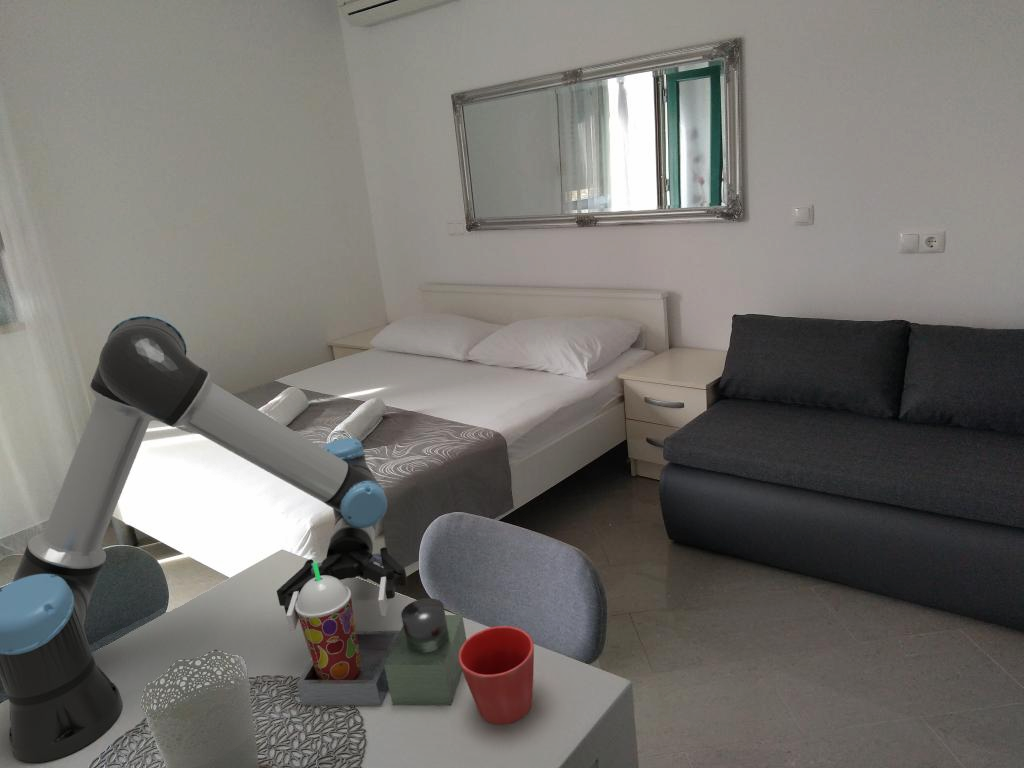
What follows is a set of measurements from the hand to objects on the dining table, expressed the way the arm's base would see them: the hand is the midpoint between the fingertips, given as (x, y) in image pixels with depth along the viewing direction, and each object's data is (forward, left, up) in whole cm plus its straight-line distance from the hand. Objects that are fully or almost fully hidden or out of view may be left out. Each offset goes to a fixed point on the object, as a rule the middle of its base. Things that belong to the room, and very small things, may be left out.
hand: (336, 615), depth 112 cm
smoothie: (-3, +2, -13) cm, 13 cm away
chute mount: (+4, +3, -13) cm, 15 cm away
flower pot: (+24, -3, -14) cm, 28 cm away
